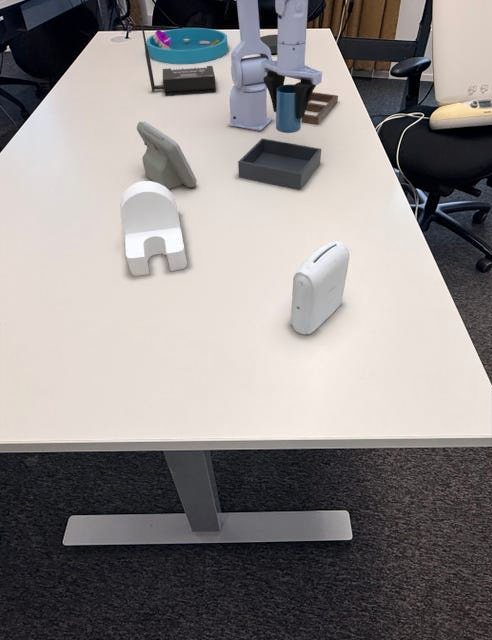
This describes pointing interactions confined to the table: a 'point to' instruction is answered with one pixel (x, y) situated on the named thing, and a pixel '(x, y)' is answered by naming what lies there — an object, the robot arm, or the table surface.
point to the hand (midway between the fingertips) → (288, 114)
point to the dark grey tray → (280, 163)
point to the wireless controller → (183, 79)
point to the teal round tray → (187, 45)
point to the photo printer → (319, 286)
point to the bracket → (151, 227)
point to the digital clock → (164, 159)
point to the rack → (319, 107)
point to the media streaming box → (270, 42)
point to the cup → (286, 109)
